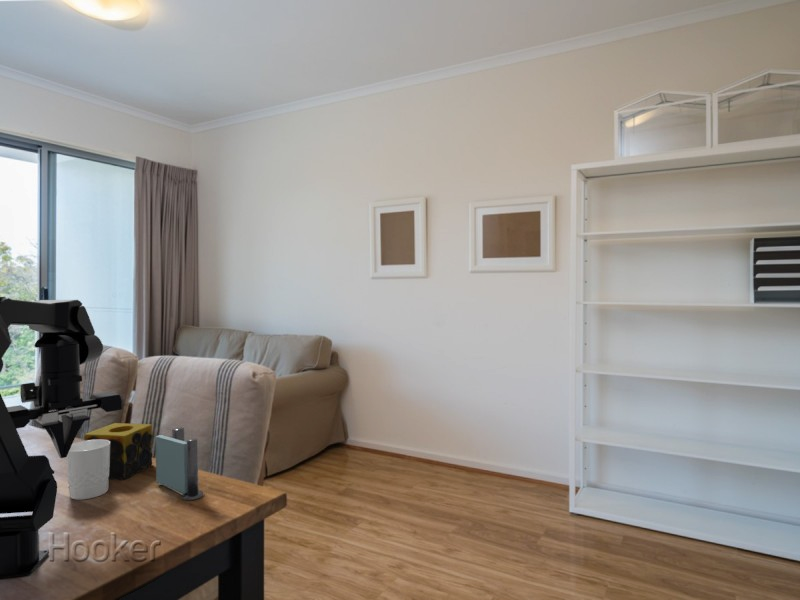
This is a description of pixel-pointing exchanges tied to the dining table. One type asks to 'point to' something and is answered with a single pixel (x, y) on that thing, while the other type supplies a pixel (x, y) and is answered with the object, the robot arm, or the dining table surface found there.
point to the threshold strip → (178, 491)
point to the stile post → (178, 433)
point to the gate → (171, 463)
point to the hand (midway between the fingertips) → (63, 457)
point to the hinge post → (192, 472)
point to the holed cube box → (126, 447)
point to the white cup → (88, 468)
